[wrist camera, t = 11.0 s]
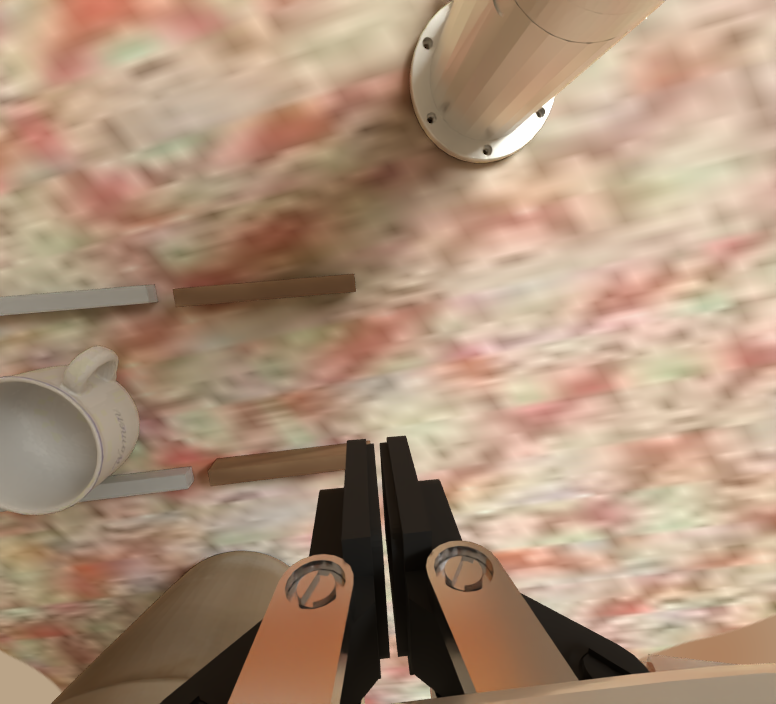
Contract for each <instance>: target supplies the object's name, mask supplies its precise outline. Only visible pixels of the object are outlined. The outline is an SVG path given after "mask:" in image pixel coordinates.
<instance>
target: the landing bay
mask: <svg viewBox="0 0 776 704" xmlns="http://www.w3.org/2000/svg"><path fill="white" fill-rule="evenodd" d="M152 302H158V299H157V294H156V289H155V285H141V286H129V287H116V288H104V289H92V290H80V291H68V292H55V293H43V294H31V295H19V296H6V297H0V316H2V315H14V314H26V313H37V312H49V311H61V310H73V309H84V308H96V307H108V306H119V305H131V304H143V303H152ZM193 481H194V477H193V472H192V467H183V468H174V469H166V470H158V471H149V472H141V473H132V474H124V475H116V476H109V477H107V478H106V479H105V480H104V481H103V482H101V483H100V484H99V485H97V486H96V487H95V488H93V489H92V490H91V491H90V492H89V493H88V494H87V495H86V496H85V497H84V498H83V499H82V500H80V501H79V502H85V501H93V500H101V499H109V498H117V497H125V496H133V495H141V494H150V493H158V492H166V491H174V490H182V489H188V488H189V487H190V485H191V484H192V483H193ZM4 511H7V510H5V509H2V508H0V512H4Z"/></svg>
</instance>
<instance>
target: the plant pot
mask: <svg viewBox="0 0 776 704" xmlns="http://www.w3.org/2000/svg"><path fill="white" fill-rule="evenodd" d="M289 568H290V567H289V566H288V565H286V564H285V563H284V562H282V561H280V560H278V559H276V558H274V557H271V556H269V555H265V554H262V553H257V552H249V551H234V552H227V553H222V554H219V555H215V556H213V557H210V558H208V559H206V560H204V561H202V562H200V563H198V564H197V565H196V566H194V567H193V568H192V569H190V570H189V571H188V572H187V573H186V574H185V575H183V576H182V577H181V578H180V579H179V580H178V581H177V582H176V583H175V584H174V585H172V586H171V587H170V588H169V589H168V590H167V591H166V592H165V593H164V594H163V595H162V596H161V597H160V598H159V599H158V600H157V601H156V602H155V603H153V604H152V605H151V606H150V607H149V608H148V609H147V610H146V611H145V612H144V613H143V614H142V615H141V616H140V617H139V618H138V619H137V620H136V621H135V622H134V623H133V624H132V625H131V626H130V627H129V628H128V629H127V630H125V631H124V632H123V633H122V634H121V635H120V636H119V637H118V638H117V639H116V640H115V641H114V642H113V643H112V644H111V645H110V646H109V647H108V648H107V649H106V650H105V651H104V652H103V653H102V654H101V655H100V656H99V657H98V658H97V659H96V660H95V661H94V662H92V663H91V664H90V665H89V666H88V667H87V668H86V669H85V670H84V671H83V672H82V673H81V674H80V675H79V676H78V677H77V678H76V679H75V680H74V681H73V682H72V683H71V684H70V685H69V686H68V687H67V688H66V689H65V690H64V691H63V692H62V693H61V694H60V695H59V696H58V697H57V698H56V699H55V700H54V701H53V702H52V704H160V703H161V702H162V701H163V700H164V699H165V698H166V697H167V696H169V695H170V694H171V693H172V692H174V691H175V690H176V689H177V688H178V687H180V686H181V685H182V684H183V683H185V682H186V681H187V680H188V679H190V678H191V677H192V676H193V675H194V674H196V673H197V672H198V671H199V670H201V669H202V668H203V667H204V666H205V665H207V664H208V663H209V662H210V661H212V660H213V659H214V658H215V657H217V656H218V655H219V654H220V653H221V652H223V651H224V650H225V649H226V648H228V647H229V646H230V645H231V644H233V643H234V642H235V641H236V640H237V639H239V638H240V637H241V636H242V635H244V634H245V633H246V632H247V631H249V630H250V629H251V628H252V627H253V626H255V625H256V624H257V623H258V622H260V621H261V620H262V619H263V618H264V616H265V613H266V611H267V608H268V606H269V604H270V601H271V599H272V597H273V594H274V592H275V589H276V587H277V585H278V582H279V581H280V579H281V577H282V576H283V574H284V573H285V572H286V571H287V570H288V569H289Z"/></svg>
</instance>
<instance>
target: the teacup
mask: <svg viewBox="0 0 776 704" xmlns="http://www.w3.org/2000/svg"><path fill="white" fill-rule="evenodd" d="M118 362H119V360H118V356H117V355H116V354H115V352H113V351H112V350H110V349H108V348H106V347H103V346H94V347H91V348H89V349H87V350H85V351H84V352H82V353H81V354H79V355H78V356H77V357H76V358H75V359H74V360H73V361H72V362H71V363H70V364H69V365H67V366H55V367H48V368H43V369H38V370H34V371H29V372H25V373H21V374H17V375H13V376H5V377H0V508H2V509H5V510H7V511H10V512H15V513H19V514H23V515H45V514H51V513H55V512H59V511H62V510H64V509H67V508H69V507H71V506H73V505H75V504H76V503H78V502H79V501H80V500H82V499H83V498H84V497H85V496H86V495H87V494H88V493H89V492H90V491H91V490H92V489H93V488H95V487H96V486H97V485H99V484H100V483H101V482H103V481H104V480H105V479H106V478H107V477H109V476H110V475H111V474H112V473H113V472H115V471H116V470H117V469H118V468H119V467H120V466H121V465H122V464H123V463H124V462H125V461H126V459H127V458H128V457H129V456H130V454H131V453H132V451H133V449H134V447H135V445H136V442H137V439H138V436H139V427H140V423H139V415H138V411H137V408H136V406H135V403H134V401H133V399H132V398H131V396H130V395H129V393H128V392H127V391H126V390H125V388H124V387H123V386H122V385H120V384H119V383H118V382H117V381H116V378H117V374H116V371H117V367H118Z"/></svg>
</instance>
